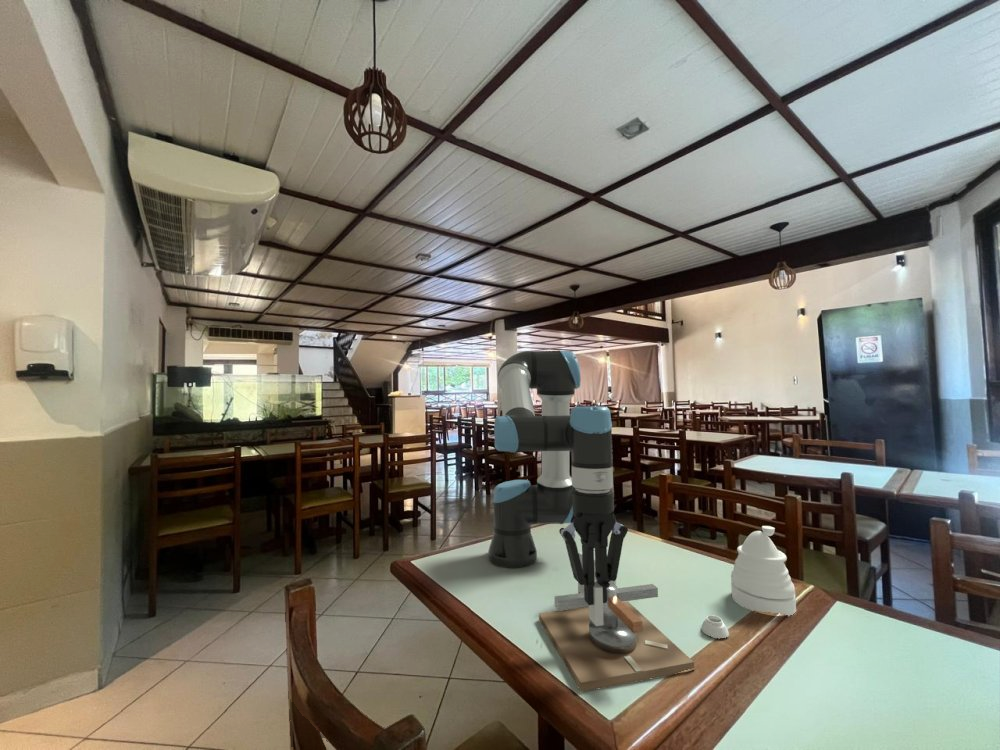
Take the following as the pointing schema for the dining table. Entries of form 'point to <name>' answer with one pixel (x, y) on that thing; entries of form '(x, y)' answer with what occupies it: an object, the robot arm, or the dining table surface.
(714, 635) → the white round hollow piece
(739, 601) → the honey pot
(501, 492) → the robot arm
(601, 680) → the board
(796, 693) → the dining table surface
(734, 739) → the dining table surface
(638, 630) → the capstan
